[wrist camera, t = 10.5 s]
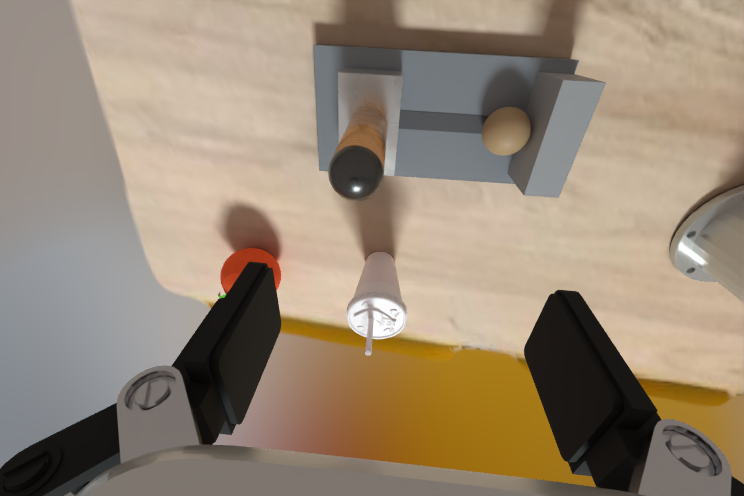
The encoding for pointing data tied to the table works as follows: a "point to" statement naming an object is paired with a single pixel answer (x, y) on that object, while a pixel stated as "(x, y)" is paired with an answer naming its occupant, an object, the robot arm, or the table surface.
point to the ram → (365, 131)
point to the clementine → (240, 260)
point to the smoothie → (377, 301)
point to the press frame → (471, 114)
